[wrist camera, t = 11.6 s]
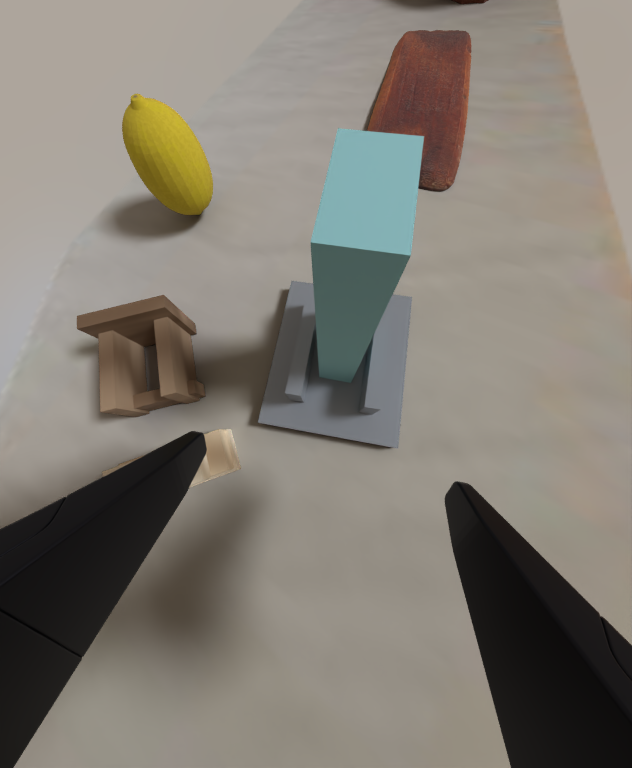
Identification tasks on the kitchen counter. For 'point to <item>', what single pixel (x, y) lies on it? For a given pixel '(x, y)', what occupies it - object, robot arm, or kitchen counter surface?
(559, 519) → the kitchen counter surface
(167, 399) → the stand
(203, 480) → the offcut stack
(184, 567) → the kitchen counter surface
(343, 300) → the teal rectangular block
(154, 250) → the kitchen counter surface
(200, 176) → the lemon
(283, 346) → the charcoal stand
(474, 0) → the muffin
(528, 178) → the kitchen counter surface
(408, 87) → the wooden tablet
